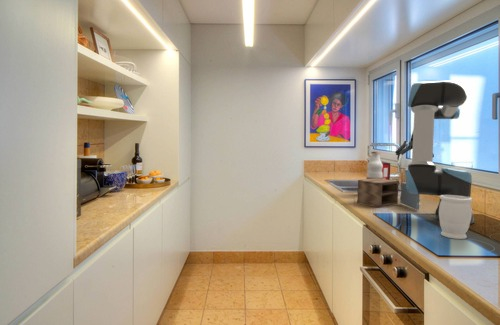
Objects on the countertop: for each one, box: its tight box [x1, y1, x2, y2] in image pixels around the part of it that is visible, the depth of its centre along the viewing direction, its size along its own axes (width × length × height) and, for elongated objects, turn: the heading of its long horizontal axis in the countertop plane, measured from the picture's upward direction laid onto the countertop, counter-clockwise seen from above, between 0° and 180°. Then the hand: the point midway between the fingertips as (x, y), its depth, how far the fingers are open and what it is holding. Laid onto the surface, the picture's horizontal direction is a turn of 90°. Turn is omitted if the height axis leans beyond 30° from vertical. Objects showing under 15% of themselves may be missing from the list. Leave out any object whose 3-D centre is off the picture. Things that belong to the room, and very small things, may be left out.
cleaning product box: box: [367, 160, 391, 180], centre depth 229 cm, size 16×9×20 cm, turn 179°
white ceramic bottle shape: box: [366, 151, 383, 179], centre depth 209 cm, size 9×9×28 cm
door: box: [399, 181, 421, 210], centre depth 177 cm, size 3×18×12 cm, turn 2°
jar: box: [439, 195, 474, 240], centre depth 126 cm, size 11×10×15 cm
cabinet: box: [356, 178, 400, 209], centre depth 186 cm, size 14×17×13 cm
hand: (411, 165), depth 191 cm, fingers open, 13 cm apart
